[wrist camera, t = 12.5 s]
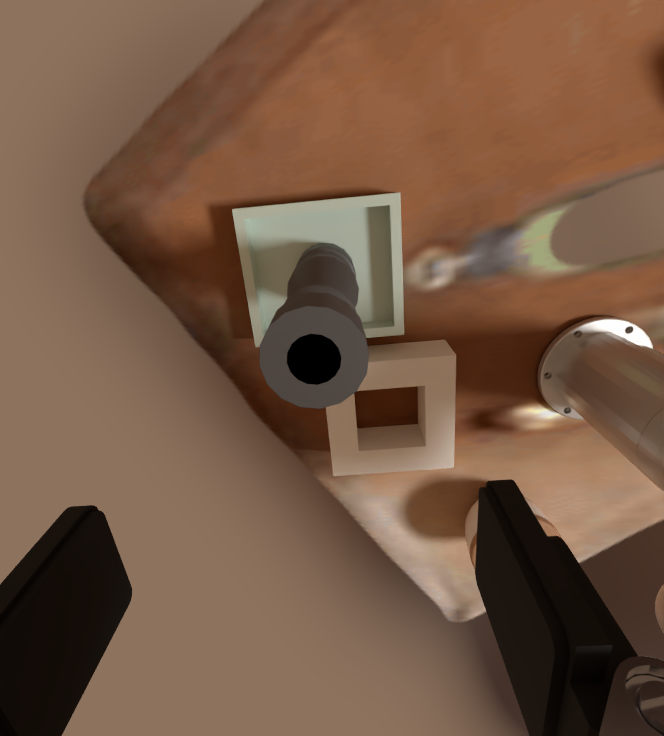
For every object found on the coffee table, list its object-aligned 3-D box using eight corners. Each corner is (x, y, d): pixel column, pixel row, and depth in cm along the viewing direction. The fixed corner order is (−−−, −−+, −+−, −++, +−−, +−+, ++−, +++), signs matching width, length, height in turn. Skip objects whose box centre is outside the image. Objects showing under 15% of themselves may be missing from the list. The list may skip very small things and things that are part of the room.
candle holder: (320, 229, 43) (301, 274, 20) (366, 268, 45) (399, 351, 22) (284, 277, 45) (230, 368, 22) (330, 312, 46) (324, 433, 23)
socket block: (444, 339, 48) (456, 355, 44) (443, 444, 54) (453, 467, 49) (322, 349, 49) (321, 366, 44) (333, 451, 54) (333, 476, 50)
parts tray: (396, 192, 42) (400, 192, 40) (400, 326, 48) (404, 334, 45) (238, 208, 43) (231, 209, 40) (260, 338, 49) (255, 347, 46)
